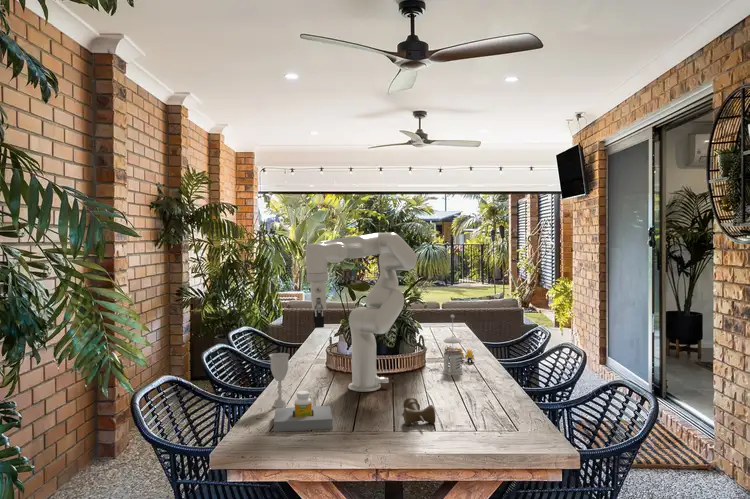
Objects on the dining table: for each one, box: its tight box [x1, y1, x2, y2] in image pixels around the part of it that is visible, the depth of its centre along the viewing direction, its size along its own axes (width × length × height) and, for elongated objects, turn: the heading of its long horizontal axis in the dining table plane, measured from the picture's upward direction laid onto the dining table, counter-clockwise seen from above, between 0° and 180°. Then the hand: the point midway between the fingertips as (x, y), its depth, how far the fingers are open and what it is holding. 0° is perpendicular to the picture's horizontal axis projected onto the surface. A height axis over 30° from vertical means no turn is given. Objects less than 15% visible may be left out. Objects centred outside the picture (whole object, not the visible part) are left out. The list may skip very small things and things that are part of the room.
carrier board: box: [273, 405, 334, 432], centre depth 186 cm, size 18×14×3 cm
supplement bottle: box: [294, 390, 313, 417], centre depth 186 cm, size 5×5×10 cm
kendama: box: [402, 397, 436, 427], centre depth 187 cm, size 6×10×20 cm
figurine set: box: [444, 345, 476, 364], centre depth 272 cm, size 3×16×7 cm, turn 48°
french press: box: [441, 314, 465, 376], centre depth 249 cm, size 10×12×25 cm
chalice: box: [268, 352, 290, 409], centre depth 204 cm, size 7×7×18 cm
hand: (318, 325), depth 208 cm, fingers open, 9 cm apart
